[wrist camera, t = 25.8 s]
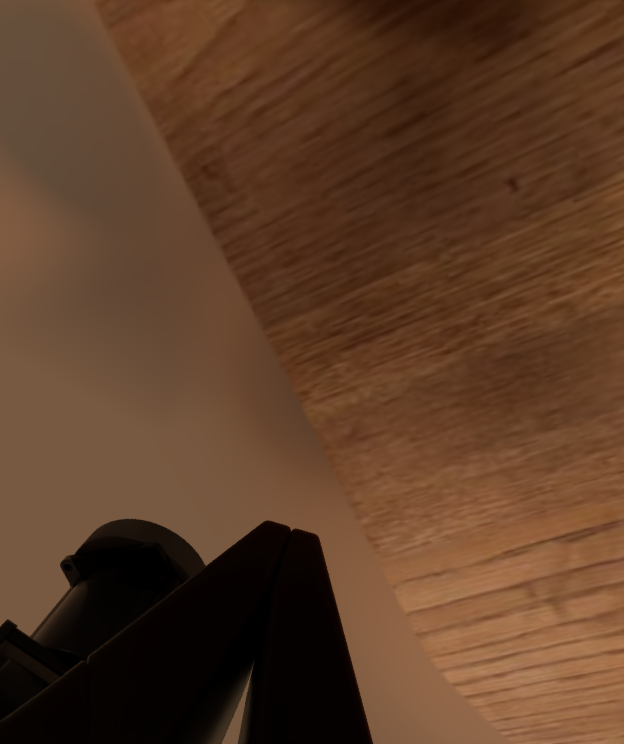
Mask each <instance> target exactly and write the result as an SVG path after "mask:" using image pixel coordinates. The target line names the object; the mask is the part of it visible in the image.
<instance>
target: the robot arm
mask: <svg viewBox="0 0 624 744" xmlns="http://www.w3.org/2000/svg"><path fill="white" fill-rule="evenodd" d="M153 551H154V552H155V553H154V552H153ZM60 566H61V569H62V571H63V572H64V574H65V576H66V578H67V579H68V581H69V583H70V585H71V588H70V589H69V590H68V591H67V592H66V594H65V595H64V596H63V597H62V598H61V600H60V601H59V602H58V604H56V606H55V607H54V608H53V609H52V611H51V612H50V613H49V614H48V615H47V617H46V618H45V619H44V620H43V621H42V623H41V624H40V625H39V626H38V627H37V629H36V630H35V631H34V633H33V634H32V635H31V636H30V637H29V636H28V635H26V634H25V633H23V632H22V631H20V630H19V629H17V625H16V624H14V623H13V622H11V621H10V620H6V622H4V623H3V624H2V625H1V627H0V744H222V741H223V739H224V736H225V734H226V732H227V729H228V727H229V725H230V723H231V720H232V718H233V716H234V713H235V711H236V709H237V706H238V704H239V702H240V700H241V697H242V695H243V692H244V690H245V687H246V685H247V682H248V680H249V677H250V674H251V671H252V674H251V678H250V683H249V688H248V692H247V697H246V702H245V708H244V713H243V719H242V724H241V730H240V735H239V741H238V744H373V741H372V738H371V734H370V730H369V726H368V722H367V719H366V715H365V711H364V707H363V703H362V699H361V696H360V692H359V688H358V684H357V680H356V677H355V673H354V669H353V665H352V661H351V657H350V654H349V650H348V646H347V642H346V638H345V635H344V631H343V627H342V623H341V619H340V616H339V612H338V608H337V604H336V600H335V597H334V593H333V589H332V585H331V581H330V578H329V574H328V570H327V566H326V562H325V558H324V555H323V551H322V547H321V543H320V540H319V537H318V536H317V535H316V534H314V533H310V532H307V531H303V530H300V529H293V530H292V531H291V529H290V527H288V526H286V525H283V524H279V523H276V522H273V521H264V522H263V523H262V524H260V525H259V526H258V527H256V528H255V529H254V530H252V531H251V532H250V533H249V534H247V535H246V536H245V537H243V538H242V539H241V540H239V541H238V542H237V543H236V544H234V545H233V546H232V547H230V548H229V549H228V550H226V551H225V552H224V553H222V554H221V555H220V556H218V557H217V558H216V559H215V560H213V561H212V562H211V563H209V564H208V565H207V566H205V567H204V568H203V569H201V570H200V571H199V572H198V573H196V574H195V575H194V576H192V577H191V578H190V579H188V580H187V581H186V582H184V583H183V584H181V582H180V580H179V578H178V576H177V574H176V572H175V570H174V568H173V566H172V564H171V562H170V560H169V558H168V556H167V554H166V552H165V550H164V548H163V546H162V545H161V544H159V543H157V542H147V543H141V544H135V545H129V546H123V547H117V548H111V549H105V550H99V551H92V552H86V553H80V554H74V555H69V556H66V558H65V559H64V560H63V561H62V562H61V564H60ZM252 668H253V669H252Z"/></svg>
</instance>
